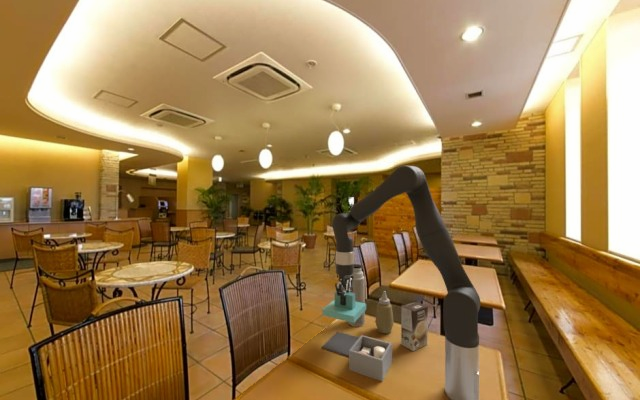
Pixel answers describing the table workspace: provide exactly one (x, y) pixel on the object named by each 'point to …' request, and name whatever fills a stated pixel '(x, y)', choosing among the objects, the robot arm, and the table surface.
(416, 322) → the coffee box
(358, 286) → the thermos bottle
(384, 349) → the storage box
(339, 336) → the rubber mat
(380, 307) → the squeeze bottle
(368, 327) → the table surface
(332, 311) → the lid
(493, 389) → the table surface
